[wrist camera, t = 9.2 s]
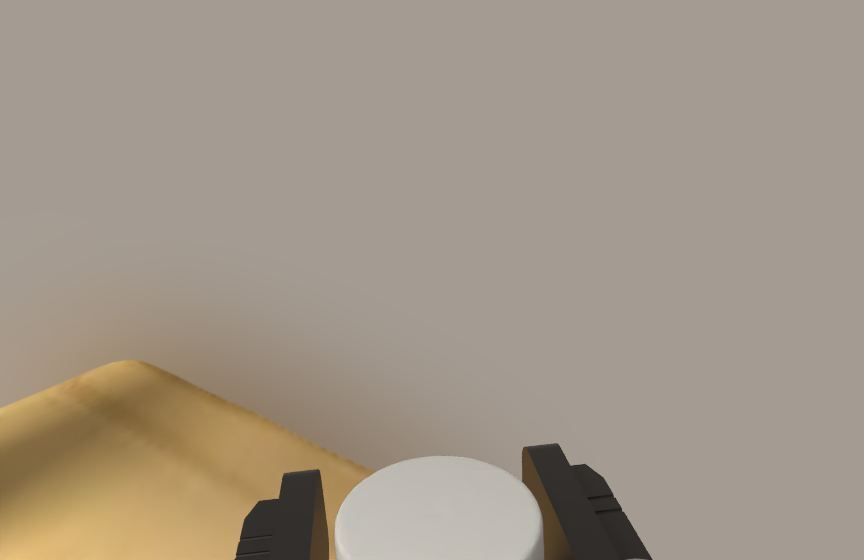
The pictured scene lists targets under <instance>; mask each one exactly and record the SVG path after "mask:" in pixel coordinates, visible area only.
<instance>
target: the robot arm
mask: <svg viewBox="0 0 864 560" xmlns="http://www.w3.org/2000/svg"><path fill="white" fill-rule="evenodd" d="M522 482H523V483H524V484H525V485H526V487H527V488H528V489H529V490H530V491H531V493H532V494H533V496H534V497H535V499H536V501H537V503H538V505H539V508H540V511H541V514H542V519H543V540H544V560H652V558H651V557H650V555H649V553H648V551H647V550H646V548H645V547H644V545H643V543H642V542H641V540H640V538H639V537H638V535H637V533H636V531H635V530H634V528H633V526H632V525H631V523H630V521H629V520H628V518H627V516H626V515H625V513H624V512H622V508H621V506H620V505H619V503H618V501H617V500H616V498H614V496H613V493H612V492H611V489H610V488H609V486H608V485H607V483H606V481H605V479H604V478H603V477H602V476H601V475H599V474H598V473H596V472H595V471H594V470H592V469H591V468H590V467H589V466H587V465H586V464H582V465H573V466H570V465H569V463H568V461H567V459H566V457H565V455H564V453H563V451H562V449H561V448H560V446H559V445H558V444H547V445H537V446H528V447H524V448H523V451H522ZM235 560H329V539H328V528H327V521H326V513H325V505H324V497H323V489H322V482H321V475H320V471H319V469H317V470H308V471H299V472H290V473H284V474H283V478H282V484H281V490H280V496H279V499H272V500H263V501H259V502H258V503H257V504H256V505H255V507H254V508H253V509H252V510H251V512H250V513H249V514H248V515H247V517H246V518H245V519H244V523H243V528H242V532H241V536H240V542H239V544H238V548H237V552H236V558H235Z"/></svg>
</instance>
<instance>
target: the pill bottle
mask: <svg viewBox="0 0 864 560" xmlns="http://www.w3.org/2000/svg"><path fill="white" fill-rule="evenodd" d="M335 548H336V557H337V560H544V540H543V519H542V514H541V511H540V508H539V505H538V503H537V501H536V499H535V497H534V496H533V494H532V493H531V491H530V490H529V489H528V488H527V487H526V485H525V484H524V483H523V482H522V481H520V480H519V479H518V478H516V477H515V476H514V475H512V474H511V473H509V472H508V471H506V470H504V469H501V468H499V467H497V466H495V465H492V464H489V463H486V462H483V461H480V460H476V459H472V458H468V457H460V456H445V455H442V456H427V457H419V458H414V459H409V460H404V461H401V462H398V463H395V464H392V465H389V466H387V467H385V468H383V469H381V470H379V471H377V472H375V473H373V474H372V475H371V476H369V477H367V478H365V479H364V480H363V481H361V482H360V483H359V484H358V485H357V486H355V487H354V488H353V489H352V491H351V492H350V493H349V494H348V495H347V497H346V498H345V500H344V501H343V503H342V505H341V507H340V509H339V511H338V514H337V516H336V523H335Z"/></svg>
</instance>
